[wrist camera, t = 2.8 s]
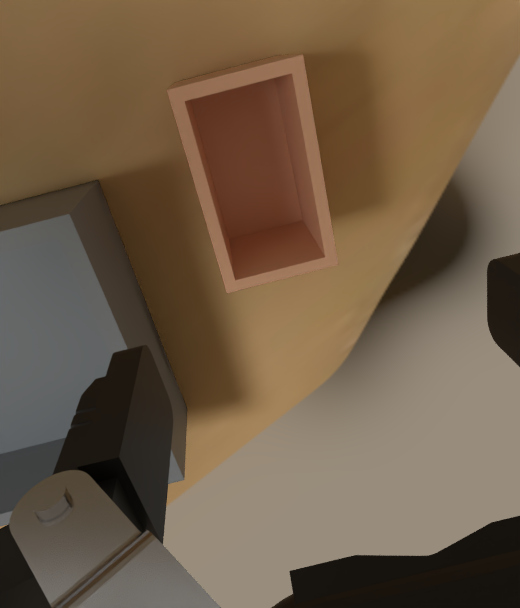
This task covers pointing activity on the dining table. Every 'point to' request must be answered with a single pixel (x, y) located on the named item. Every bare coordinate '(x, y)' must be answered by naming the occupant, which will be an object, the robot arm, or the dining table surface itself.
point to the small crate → (257, 169)
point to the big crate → (64, 329)
